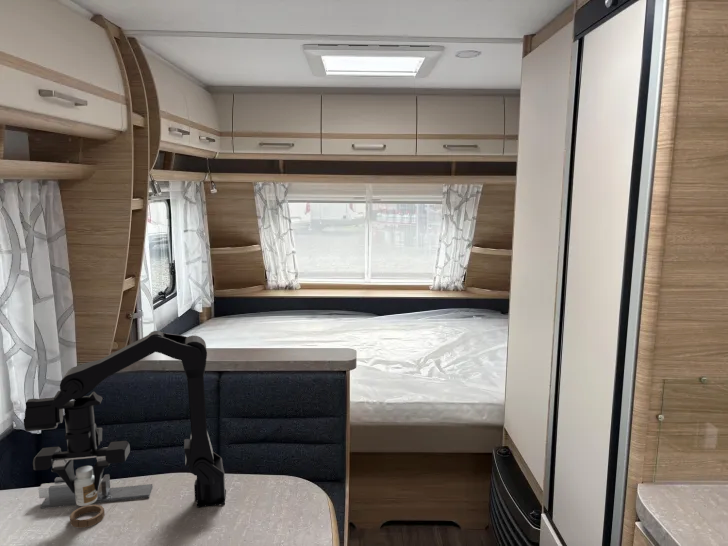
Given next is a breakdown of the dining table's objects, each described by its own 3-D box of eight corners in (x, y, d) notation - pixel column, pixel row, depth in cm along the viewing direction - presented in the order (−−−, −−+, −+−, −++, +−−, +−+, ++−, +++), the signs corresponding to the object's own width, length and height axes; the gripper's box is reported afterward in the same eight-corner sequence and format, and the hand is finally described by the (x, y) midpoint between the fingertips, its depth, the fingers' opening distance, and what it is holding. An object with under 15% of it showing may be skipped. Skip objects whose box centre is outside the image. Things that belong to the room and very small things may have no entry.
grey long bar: (110, 488, 141) (109, 474, 141) (106, 495, 138) (105, 481, 137) (44, 494, 138) (42, 480, 138) (38, 502, 135) (37, 487, 134)
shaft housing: (152, 486, 144) (151, 468, 143) (148, 497, 139) (147, 479, 138) (48, 496, 140) (47, 478, 139) (40, 508, 134) (39, 489, 134)
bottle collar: (107, 509, 134) (106, 503, 134) (99, 525, 127) (99, 519, 127) (75, 512, 133) (75, 506, 132) (66, 529, 126) (66, 522, 126)
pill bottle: (89, 507, 127) (86, 474, 126) (71, 505, 128) (68, 472, 126) (101, 497, 131) (99, 465, 130) (84, 495, 132) (82, 463, 131)
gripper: (132, 407, 136) (137, 469, 138) (47, 414, 133) (53, 478, 135) (122, 426, 125) (127, 493, 128) (28, 434, 122) (35, 502, 124)
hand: (86, 491), depth 129 cm, fingers closed on pill bottle, 4 cm apart
